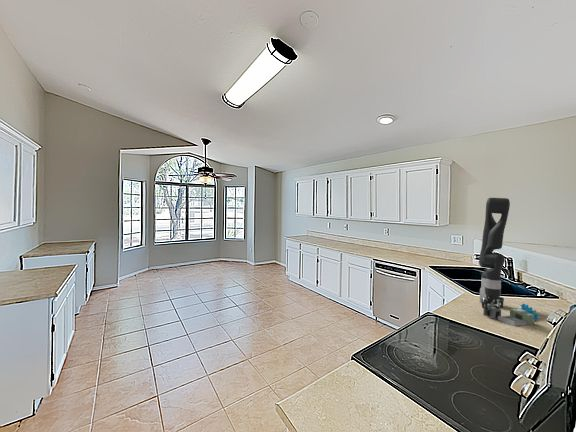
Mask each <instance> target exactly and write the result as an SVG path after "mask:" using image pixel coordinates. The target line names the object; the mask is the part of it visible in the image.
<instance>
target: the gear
mask: <svg viewBox="0 0 576 432" xmlns="http://www.w3.org/2000/svg"><path fill="white" fill-rule="evenodd" d="M520 309H522V310H526V312H527V313H530V314H533V315H534V322H535V321H538V320H539V319H540V318H539V314H537V310H536V309H534V310H533V307H531V306H530V307H529V305H528V304H525V303H522V304H520Z"/></svg>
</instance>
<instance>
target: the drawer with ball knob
mask: <svg viewBox="0 0 576 432" xmlns="http://www.w3.org/2000/svg"><path fill="white" fill-rule="evenodd" d="M497 320H498V321H500V322H503V323H506V324H508V325H511V326H514V327H515V326H518V327H519V326H524V325H525V326H526V325H528V326H530V325H531V326H532V325H535V320H534V315H533V314H530V313H527V312H526V310H522V309H521V308H510V309H509V315H504V316H503V315H501V316H498V318H497Z"/></svg>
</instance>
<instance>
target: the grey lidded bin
mask: <svg viewBox="0 0 576 432" xmlns="http://www.w3.org/2000/svg"><path fill="white" fill-rule="evenodd" d="M488 307H489V306H488ZM488 307H487V308H488ZM482 309H483V311H482V312H483V313H482V314H483V316H486V315H485V309H484V308H482ZM498 316H501V317H502V309H501V308H500V309H497V308H495V306H492V307H491V308H490V316H489V317H488V318H491V319H493V320H496V319H498Z"/></svg>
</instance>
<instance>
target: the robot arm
mask: <svg viewBox="0 0 576 432" xmlns="http://www.w3.org/2000/svg"><path fill="white" fill-rule="evenodd" d="M510 205H511V203H510V199H509V198H505V197H488V198H487V200H486V205H485V219H484V227H483V232H482V239H481V242H482V243H481V249H480V254H479V258H478V265H479V266H480V268H484V269H485V272H483V273H481V275H480V276H481V281H480V282H481V284H480V285H481V286H480V288H479V303H481V308H482V309H483V308H484V309H485V315H484V316H486V317H488V318H490V317H489V316H490V308H491V307H494V308H497V309H500V310H501V309H503V308H504V301H505V298H504V297H502V295H501V294H502V282H501V273H502V270H503V267H504V264H505V261H506V258H505V256H504V254H503V253H499V252H498V253H497V252H494V251H495V250H501V249H502V247H503V243H504V241H503V240H504V234H505V228H506V225H507V221H508V216H509V211H510ZM493 214H501V216H500V218H499V219H498V221H496V220H495V218H494V216H493ZM488 306H489V307H488ZM487 307H488V308H487Z"/></svg>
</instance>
